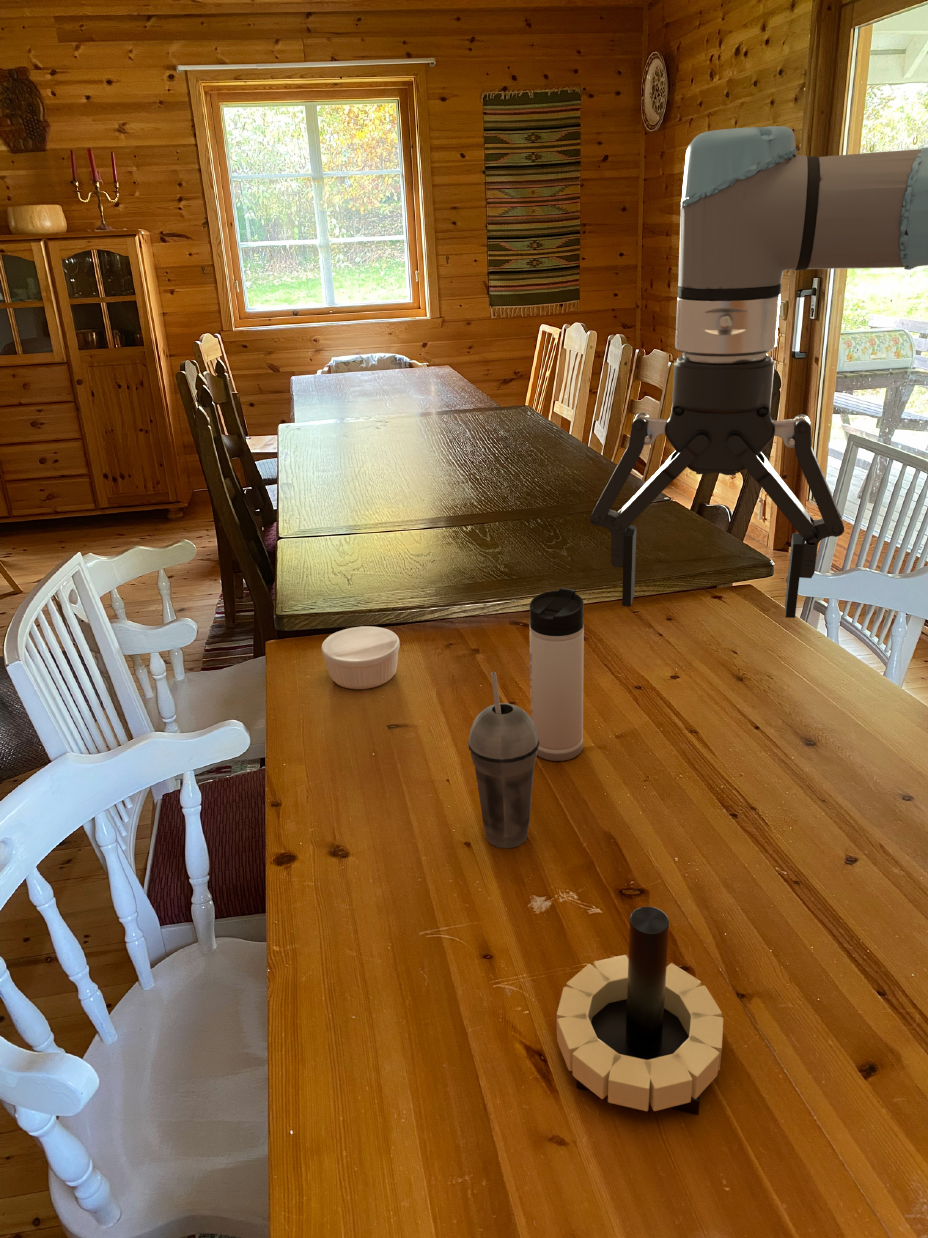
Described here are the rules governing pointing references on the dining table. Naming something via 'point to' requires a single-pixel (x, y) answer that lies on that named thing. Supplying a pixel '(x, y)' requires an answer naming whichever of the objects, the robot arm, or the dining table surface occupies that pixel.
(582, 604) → the travel mug
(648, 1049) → the stand
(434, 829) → the dining table surface
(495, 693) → the beverage cup
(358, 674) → the ramekin
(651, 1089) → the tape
